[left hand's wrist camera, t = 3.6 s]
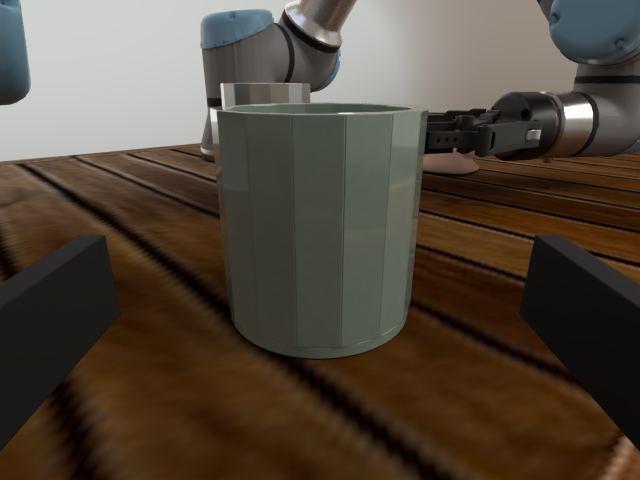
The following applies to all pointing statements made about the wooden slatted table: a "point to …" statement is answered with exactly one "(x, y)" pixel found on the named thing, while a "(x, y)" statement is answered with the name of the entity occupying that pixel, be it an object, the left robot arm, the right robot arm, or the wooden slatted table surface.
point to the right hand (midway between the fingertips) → (359, 131)
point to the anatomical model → (450, 163)
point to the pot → (319, 221)
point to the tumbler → (264, 93)
